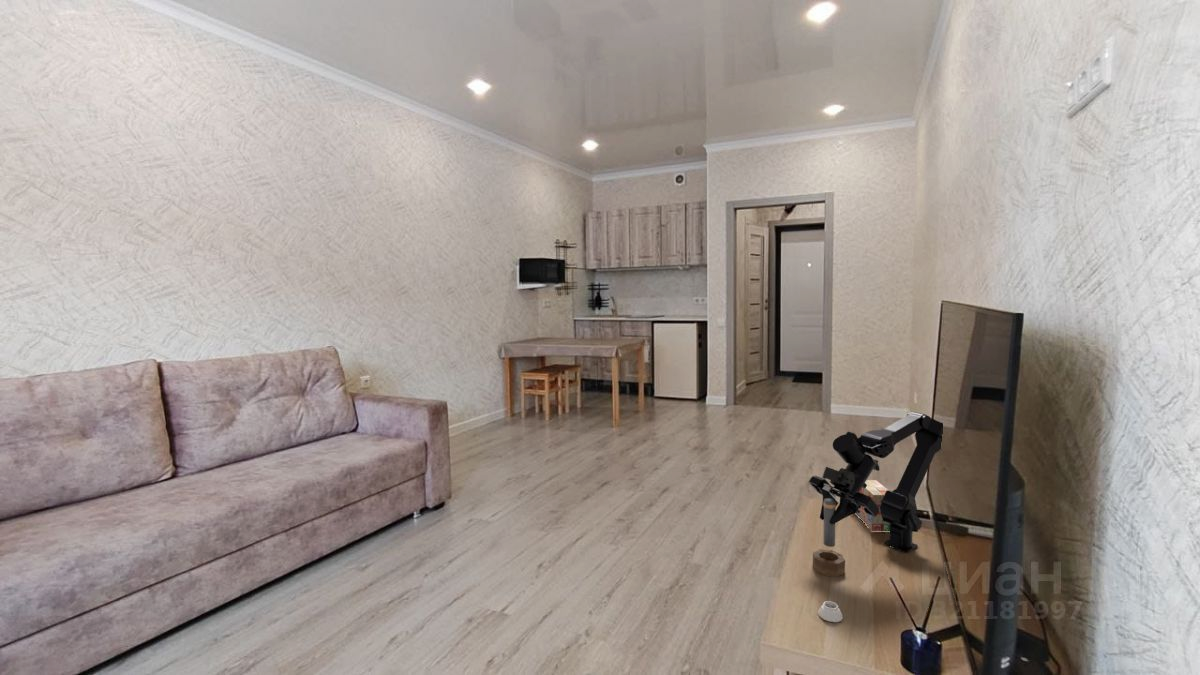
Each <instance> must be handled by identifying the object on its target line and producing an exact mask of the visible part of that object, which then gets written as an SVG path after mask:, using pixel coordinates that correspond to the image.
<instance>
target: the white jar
mask: <svg viewBox="0 0 1200 675" xmlns="http://www.w3.org/2000/svg"><path fill="white" fill-rule="evenodd" d="M818 616H819V617H820V618H821V619H822V620H825V621H827V622H832V623H838V622H842V620H843V616H844V615H843V613H842V611H841V610H840V608H839V605H838V604H837V603H836V602H834V601H830V600H826V601H824V602H823V604H822V605H821V606H820V608H819V609H818Z"/></svg>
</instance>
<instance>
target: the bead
mask: <svg viewBox="0 0 1200 675" xmlns="http://www.w3.org/2000/svg"><path fill="white" fill-rule="evenodd" d="M812 566H813V569H814V571H815V572H817V573H818V574H821V575H823V576H825V577H835V578H837V577H840V576H842V575H844V574H845V573H846V572H845V571H846V568H845V567H846V559H845V558H844V555H843V553H842V554H841V553H840V552H837V551H835V550H833V549H824V548H823V549H822V548H821V549H818V550H815V551H813V552H812Z"/></svg>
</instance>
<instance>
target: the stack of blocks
mask: <svg viewBox="0 0 1200 675" xmlns="http://www.w3.org/2000/svg"><path fill="white" fill-rule="evenodd" d="M865 483H866V485H867V486H866V488H863V487H862V488H861V490H860V491H859V493H862V494H864V495H867V496H870V497H871V498H872V499H873V500H874V501H875V503H876V504H877V505H878V506H879V512H878V514H877V516H876V517H874V516H871V515H869V514H866V513H865V510H864V508H865V507H862V506H861V508H860V509H859V511H860V513H856V514H857V515H858V516H859V517H860V518H861V519H862V520H863V521H864V522H865V523H866V524H867V526H868V527H869V529H870V530H871V531H890V523H887V522H884V521H883V519H882V516H881V512H880V505H881V501H882V499H883V498H884V495H885V492H886V491H887V490H889V489H888V488H887V487H885V486H884V484H881V482H879V481H878V480H876V479H867V480H866V482H865ZM869 529H868V530H869ZM870 530H869V531H870ZM871 531H870V532H871Z"/></svg>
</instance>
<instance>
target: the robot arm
mask: <svg viewBox="0 0 1200 675" xmlns="http://www.w3.org/2000/svg"><path fill="white" fill-rule="evenodd" d="M943 423H944V422H940V421H938V420H936V419H934V418H932V417H930V416H929V415H928V414H925V413H922V412H915V411H910V412H908V413H907V415H905V416H904V417H902V418H900V419H898V420H897V421H895V422H894V423H891V424H890V425H888V426H886V427H884V428H882V429H873V430H869V431H866V432H863V433H862V434H861V435H860V436H857V435H856V433H855V432H852V431H850V430H849V431H847V432H846V433H845V434H842V435H839V436H838V437H837V438H834V440H833V442H832V448H833V450H834V451H835V452H836V453H837V455H839V457H840V458H841V459H842V460H843V461H844V463H846V464H847V466H846V467H845V468H843V467H841V468H840V469H839V470H837V469H834V468H831V467H828V466H825V468H824V471H823V474H822V477H820V476H818V475H812V476H811V478H810V479H809V481H808V484H809V485H810V486H811V487H812V488H813V489H814V490H815V492H817V493H818V494H820V495H822V504H821V507H820V514H819V519H820V520H821V521H824V506H823V502H824V499H826V498H830V499H834V500H835V503H836V508H835V512H834V514H833V515H832V517H831V519H830V521H829V523H830V524H832V525H833V524H835V525H836V524H837V523H838V522H840V521H842V520H844V519H846V518H848V517H850V516H852V515H855V513H860V511H859V509H860V508H861V506H862V507H865V508H864V510H865V513H866V514H869V515H871V516H874V517H876V516H877V514H878V512H879V506H878V505H877V504H876V503H875V501H874V500H873V499H872V498H871V497H870V496H867V495H864V494H862V493H859V491H860V490H861V488H862V487H863V488H866V486H867V485H866V483H865V482H866V480H868V478H869V477H870V475H871V474H872V472H873V470H874V471H877V472H879V471H880V466H879V461H878V459H877V460H876V459H874V458H873V457H875V458H879V459H885V458H887V457H888V456H889V455H890V454H891V453H893V452H894V450H895V447H896V446H895V445H897V444H898V443H900V442H901V441H903V440H905V439H907V438H908V437H910V436H912V435H914V438H915V443H916V446H915V448H914V451H913V452H912V455H911V457H910V459H909V461H908V463H907V465H906V468H905V470H904V471H903V474H902V475H901V478H900V480H899V483H898V484H897V487H896V488H895V489H893V490H892V491H891V490H889V489H888V490H887V491H886V492H885V495H884V498H883V499H882V501H881V505H880V512H881V516H882V519H883V521H884V522H887V523H890V533H888V534H889V538H888V540H885V541H884V542H883V544H884V545H885V544H886V545H885V546H887V545H888V547H890V546H891V547H890V548H892V547H893V549H895V550H897V549H898V551H900V552H902V553H906V554H907V553H909V552H910V551H913V550H915V549H916V548H918V547H919V545H918V544H917V543H913V537H914V536H913V535H914V534H913V533H918V532H919V530H921V528H922V523H923V521H922V520H921V519H920V517H918V515H917V514H916V513H917V510H918V507H917V502H916V496H917V495H918V492H919V490H920V488H921V485H922V483H923V482H924V481H923V480H924V478H925V477H926V475H927V471H928V470H929V468H930V465H931V463H932V461H933V459H934V457H935V456H936V454H937V453H938V452H939V451H941V450H942V449H941V442H942V434H943ZM940 449H941V450H940ZM872 456H873V457H872ZM826 479H827V480H829V481H827V480H826ZM837 497H839V502H838V500H836V498H837Z"/></svg>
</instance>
